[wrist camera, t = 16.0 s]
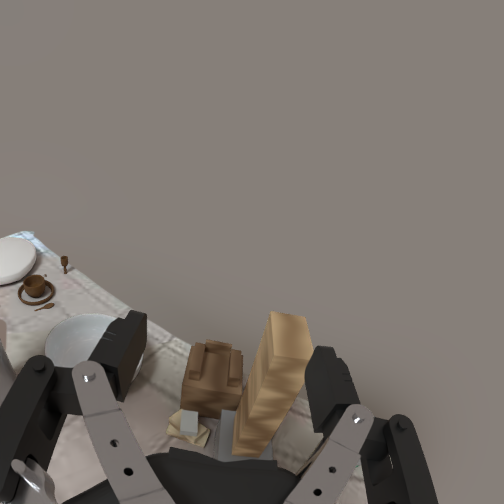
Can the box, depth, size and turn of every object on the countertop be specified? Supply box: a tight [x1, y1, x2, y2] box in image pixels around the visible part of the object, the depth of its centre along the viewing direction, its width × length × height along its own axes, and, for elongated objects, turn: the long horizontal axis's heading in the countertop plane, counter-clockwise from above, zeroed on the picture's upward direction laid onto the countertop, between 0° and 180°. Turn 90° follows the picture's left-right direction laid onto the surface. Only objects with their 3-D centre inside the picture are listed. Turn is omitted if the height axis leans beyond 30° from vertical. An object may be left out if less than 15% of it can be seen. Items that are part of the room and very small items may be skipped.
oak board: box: [232, 311, 314, 458], centre depth 31 cm, size 4×7×22 cm, turn 0°
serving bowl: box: [45, 314, 144, 381], centre depth 47 cm, size 21×21×7 cm
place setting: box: [18, 256, 68, 311], centre depth 63 cm, size 18×20×6 cm
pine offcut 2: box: [166, 424, 210, 447], centre depth 41 cm, size 7×4×2 cm, turn 79°
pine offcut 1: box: [169, 409, 207, 444], centre depth 40 cm, size 6×3×2 cm, turn 55°
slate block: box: [213, 409, 273, 462], centre depth 37 cm, size 8×10×8 cm
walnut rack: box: [180, 340, 243, 419], centre depth 48 cm, size 10×10×12 cm
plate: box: [0, 237, 36, 285], centre depth 63 cm, size 28×6×27 cm
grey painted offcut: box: [180, 410, 198, 437], centre depth 39 cm, size 4×3×2 cm, turn 6°
